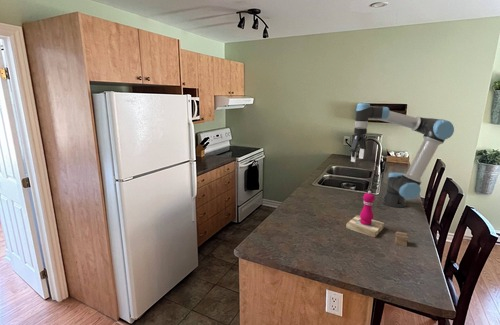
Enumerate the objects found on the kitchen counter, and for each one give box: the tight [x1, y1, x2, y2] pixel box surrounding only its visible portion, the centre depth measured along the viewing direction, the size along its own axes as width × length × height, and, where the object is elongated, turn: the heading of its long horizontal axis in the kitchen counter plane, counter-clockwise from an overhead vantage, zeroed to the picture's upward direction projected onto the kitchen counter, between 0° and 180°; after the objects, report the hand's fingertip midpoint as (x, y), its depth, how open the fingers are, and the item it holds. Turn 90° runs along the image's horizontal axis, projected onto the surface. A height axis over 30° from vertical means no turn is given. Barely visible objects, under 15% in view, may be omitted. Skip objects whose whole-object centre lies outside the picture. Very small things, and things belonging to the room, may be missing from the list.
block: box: [394, 231, 409, 247], centre depth 142 cm, size 5×5×5 cm
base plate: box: [345, 214, 385, 238], centre depth 158 cm, size 16×16×3 cm
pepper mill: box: [359, 190, 376, 225], centre depth 155 cm, size 7×7×20 cm
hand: (357, 160), depth 177 cm, fingers open, 13 cm apart
